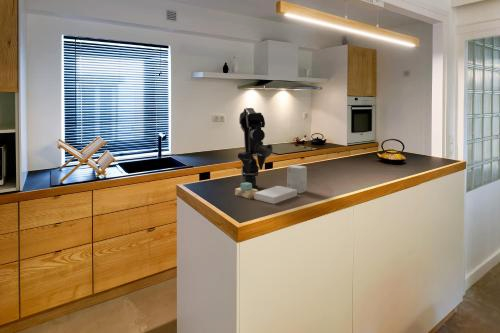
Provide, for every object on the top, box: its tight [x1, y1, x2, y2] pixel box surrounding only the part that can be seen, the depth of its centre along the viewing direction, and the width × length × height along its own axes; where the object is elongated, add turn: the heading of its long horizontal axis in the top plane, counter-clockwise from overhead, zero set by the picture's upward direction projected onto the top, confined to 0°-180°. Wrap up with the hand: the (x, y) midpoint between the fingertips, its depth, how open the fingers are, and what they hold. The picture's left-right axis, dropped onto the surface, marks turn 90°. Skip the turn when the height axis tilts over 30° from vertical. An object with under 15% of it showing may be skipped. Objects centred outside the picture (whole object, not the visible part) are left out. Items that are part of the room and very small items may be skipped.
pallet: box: [234, 186, 259, 200], centre depth 156 cm, size 10×6×4 cm, turn 47°
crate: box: [240, 182, 253, 191], centre depth 156 cm, size 4×4×3 cm
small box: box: [286, 164, 308, 194], centre depth 163 cm, size 8×6×13 cm
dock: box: [253, 185, 298, 205], centre depth 153 cm, size 12×18×3 cm
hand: (254, 171), depth 154 cm, fingers open, 9 cm apart
